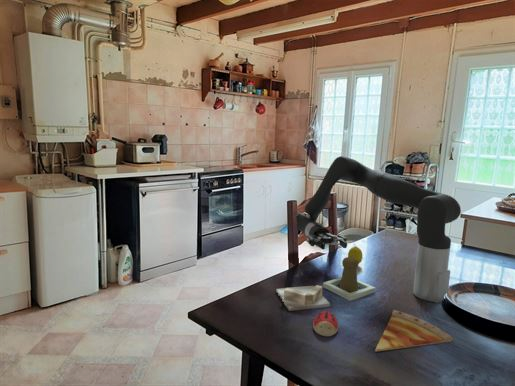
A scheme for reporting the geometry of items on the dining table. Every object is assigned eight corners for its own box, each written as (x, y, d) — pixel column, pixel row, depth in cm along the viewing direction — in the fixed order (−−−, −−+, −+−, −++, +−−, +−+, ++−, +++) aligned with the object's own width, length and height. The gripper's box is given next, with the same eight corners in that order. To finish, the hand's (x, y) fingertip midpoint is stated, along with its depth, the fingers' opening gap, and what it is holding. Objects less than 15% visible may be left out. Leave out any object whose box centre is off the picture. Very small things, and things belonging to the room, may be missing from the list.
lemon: (345, 266, 142) (347, 247, 140) (349, 262, 147) (350, 243, 145) (360, 269, 139) (361, 249, 138) (363, 264, 144) (364, 245, 143)
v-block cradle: (276, 291, 118) (276, 280, 117) (313, 288, 121) (313, 277, 121) (289, 310, 106) (289, 298, 105) (329, 306, 109) (330, 294, 108)
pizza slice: (344, 320, 102) (345, 313, 102) (413, 312, 107) (413, 306, 107) (374, 353, 87) (375, 345, 87) (452, 342, 92) (453, 335, 92)
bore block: (374, 292, 119) (375, 287, 119) (350, 300, 113) (350, 296, 113) (347, 279, 129) (347, 275, 129) (322, 286, 123) (323, 282, 122)
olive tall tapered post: (359, 293, 118) (362, 261, 116) (341, 293, 118) (343, 261, 116) (355, 286, 124) (357, 255, 122) (337, 285, 124) (339, 254, 122)
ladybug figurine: (312, 336, 93) (313, 324, 92) (313, 317, 103) (313, 306, 102) (338, 339, 92) (339, 327, 91) (337, 320, 102) (338, 308, 101)
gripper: (301, 224, 143) (317, 237, 128) (334, 223, 146) (353, 235, 131) (299, 242, 144) (316, 257, 129) (332, 241, 148) (352, 255, 132)
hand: (335, 246), depth 130 cm, fingers open, 8 cm apart
